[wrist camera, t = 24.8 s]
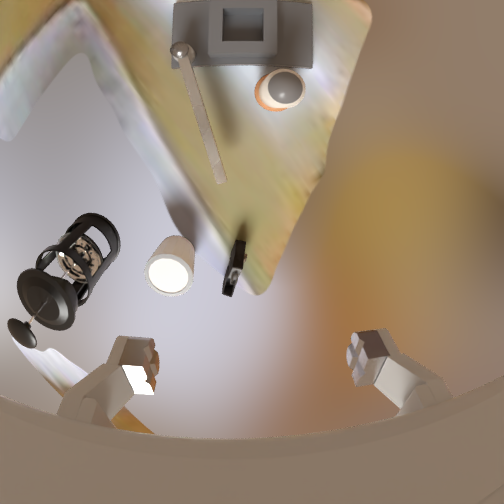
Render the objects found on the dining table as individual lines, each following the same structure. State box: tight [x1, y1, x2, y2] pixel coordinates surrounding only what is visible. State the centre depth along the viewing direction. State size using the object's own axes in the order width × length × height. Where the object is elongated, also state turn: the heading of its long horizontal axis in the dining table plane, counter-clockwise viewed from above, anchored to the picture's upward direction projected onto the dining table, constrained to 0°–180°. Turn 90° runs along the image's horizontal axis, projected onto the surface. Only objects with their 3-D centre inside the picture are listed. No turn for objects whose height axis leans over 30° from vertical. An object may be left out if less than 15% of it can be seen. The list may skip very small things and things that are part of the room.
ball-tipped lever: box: [170, 41, 227, 184], centre depth 30 cm, size 18×2×2 cm, turn 15°
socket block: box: [172, 0, 313, 69], centre depth 27 cm, size 18×10×4 cm, turn 89°
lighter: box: [222, 240, 247, 297], centre depth 43 cm, size 9×2×6 cm
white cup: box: [144, 236, 195, 297], centre depth 41 cm, size 7×7×7 cm
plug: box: [255, 69, 305, 111], centre depth 28 cm, size 5×5×12 cm
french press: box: [7, 213, 120, 348], centre depth 32 cm, size 12×9×23 cm
